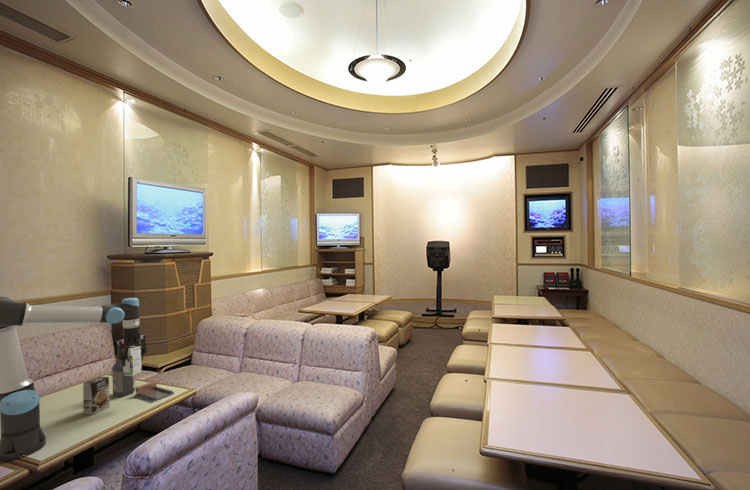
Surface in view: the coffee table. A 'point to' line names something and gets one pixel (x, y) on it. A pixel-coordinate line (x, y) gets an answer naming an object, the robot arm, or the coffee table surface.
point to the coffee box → (96, 395)
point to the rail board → (152, 392)
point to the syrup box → (133, 361)
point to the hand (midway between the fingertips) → (132, 369)
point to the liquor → (122, 380)
